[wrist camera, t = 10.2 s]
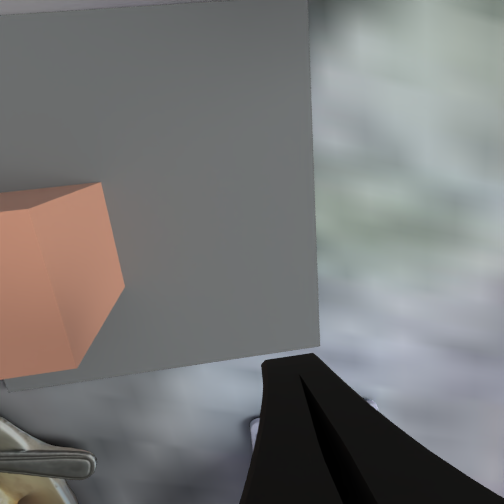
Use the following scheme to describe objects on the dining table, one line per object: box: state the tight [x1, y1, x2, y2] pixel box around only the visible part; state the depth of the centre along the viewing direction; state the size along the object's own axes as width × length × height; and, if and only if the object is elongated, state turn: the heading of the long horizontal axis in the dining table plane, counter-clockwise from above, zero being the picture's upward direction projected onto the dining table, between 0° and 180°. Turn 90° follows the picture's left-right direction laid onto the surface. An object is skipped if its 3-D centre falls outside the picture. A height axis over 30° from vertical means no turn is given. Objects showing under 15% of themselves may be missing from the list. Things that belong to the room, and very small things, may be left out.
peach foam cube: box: [0, 182, 125, 380], centre depth 13 cm, size 5×5×7 cm
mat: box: [0, 0, 320, 393], centre depth 17 cm, size 17×17×1 cm
